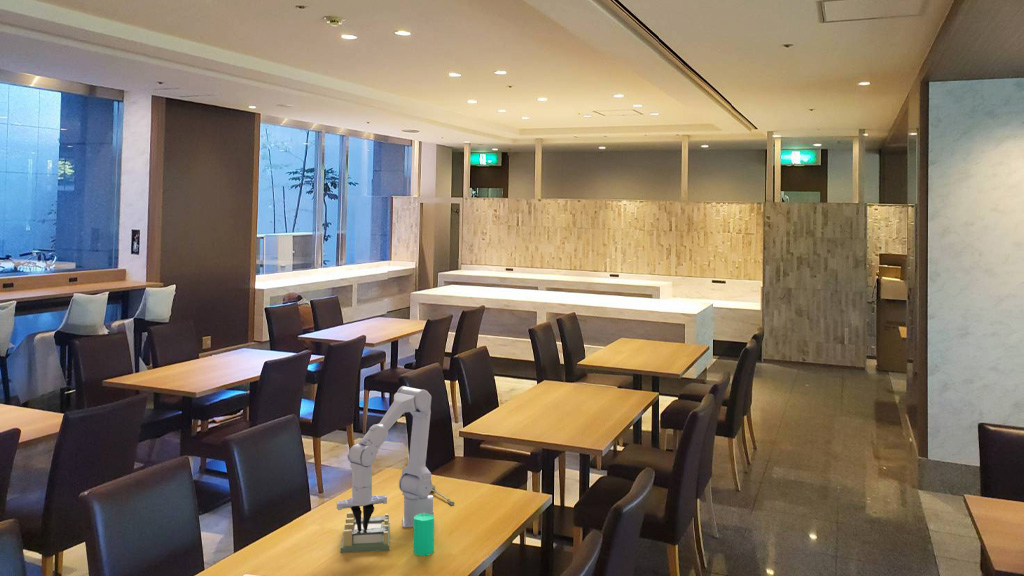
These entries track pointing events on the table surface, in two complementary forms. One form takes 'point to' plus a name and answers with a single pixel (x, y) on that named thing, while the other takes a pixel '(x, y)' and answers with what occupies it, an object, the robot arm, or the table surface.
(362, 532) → the strap near
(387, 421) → the robot arm
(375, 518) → the strap far
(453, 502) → the soupspoon
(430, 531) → the candle
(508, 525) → the table surface
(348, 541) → the board
